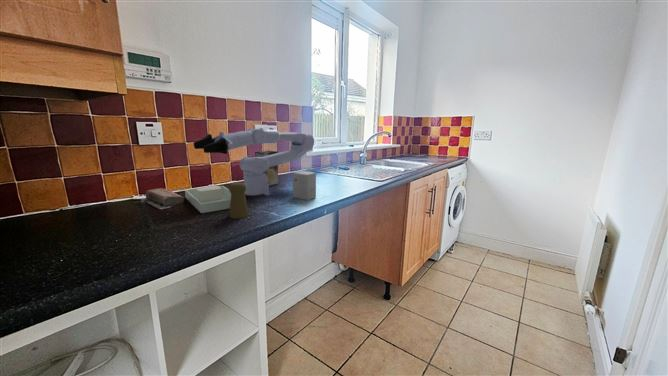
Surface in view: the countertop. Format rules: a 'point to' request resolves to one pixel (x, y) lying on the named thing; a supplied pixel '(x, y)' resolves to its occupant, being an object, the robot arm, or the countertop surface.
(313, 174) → the small box
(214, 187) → the white box
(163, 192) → the packaged product
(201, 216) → the countertop surface
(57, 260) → the countertop surface
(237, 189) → the brown rounded lobed piece
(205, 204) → the box
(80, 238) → the countertop surface
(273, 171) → the coffee box
